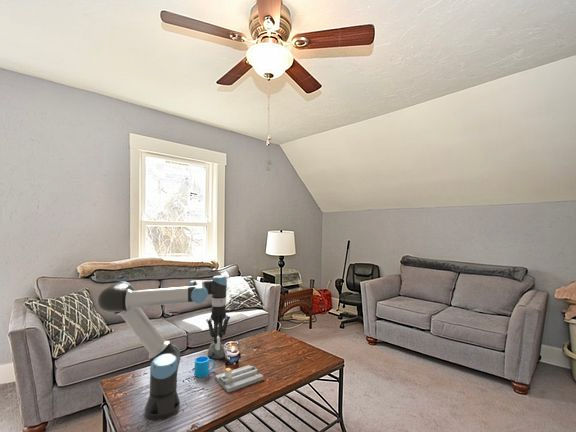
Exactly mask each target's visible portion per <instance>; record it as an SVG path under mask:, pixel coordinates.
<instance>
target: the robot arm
mask: <svg viewBox="0 0 576 432" xmlns="http://www.w3.org/2000/svg"><path fill="white" fill-rule="evenodd" d="M227 281H228V278H227V276H225V275H214V276H213V277H212V279H211V280H207V279H206V280H202V279H201V280H190V281H189V284H188V286H178V287H177V286H176V287H175V286H174V287H164V288H154V289H153V288H152V289H142V290H141V289H140V290H134V287H133V285H132V284H130V283H129V282H127V281H117V282H114V283H112V284H110V285H109V286H107V287H106V288H104V289H103V290H102V291H101V292H100V293H99V295H98V298H97V304H98V307H99V308H100V309H101V310H102V311H103V312H106V313H113V314H114V315H116V316H121V318H122V319H123V320H124V321H125V323H126V324H127V325H128V327H129V328H130V329H131V331H132V332H133V333H134V335H135V336H136V337H137V338H138V340H139V341H140V343H141V344H142V345H143V347H144V348H145V349H146V350H147V352H148V353H149V355H148V359H149V360H150V362H151V363H150V368H149V369H150V370H149V371H150V372H149V373H150V377H149V378H150V379H149V396H148V398H147V401H146V404H145V407H144V416H145V418H147V419H148V420H151V421H161V420H162V421H163V420H165V419H168V418H171V417H172V416H174V415H175V414H176V413H178V411H179V410H180V408H181V407H180V405H181V404H180V403H181V402H180V397H179V393H178V391H177V388H178V387H177V385H178V384H177V382H178V381H177V380H178V371H179V366H180V362H181V358H182V357H181V351H180V349H179V347H178V346H176V345H174V344H172V343H171V342H170V340H165V338H164V337H163V336H162V335H161V333H160V331H158V329H157V328H156V327H155V326H154V324H153V323H152V321H151V320H150V319H149V317H148V316H147V315H146V313H145V312H144V311H143V309H142V308H143V307H153V306H154V307H155V306H156V307H157V306H163V305H164V306H165V305H172V304H173V305H174V304H184V303H196V304H202V303H204V302H205V301H206V300H207V298H208V296H209V295H211V315H210V317H209V318H207V319H206V320H205V321H206V323H207V325H208V329H209V334H210V337H212V338H213V342H214V343H215V349H216V350H220V345H221V343H222V341H223V340H222V338H223V336H225V335H226V332H227V328H228V324H229V320H230V318H231V316H230V315H227V313H226V311H227V291H228V290H227V287H228V286H227V285H228V284H227ZM212 322H213V323H212Z"/></svg>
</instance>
